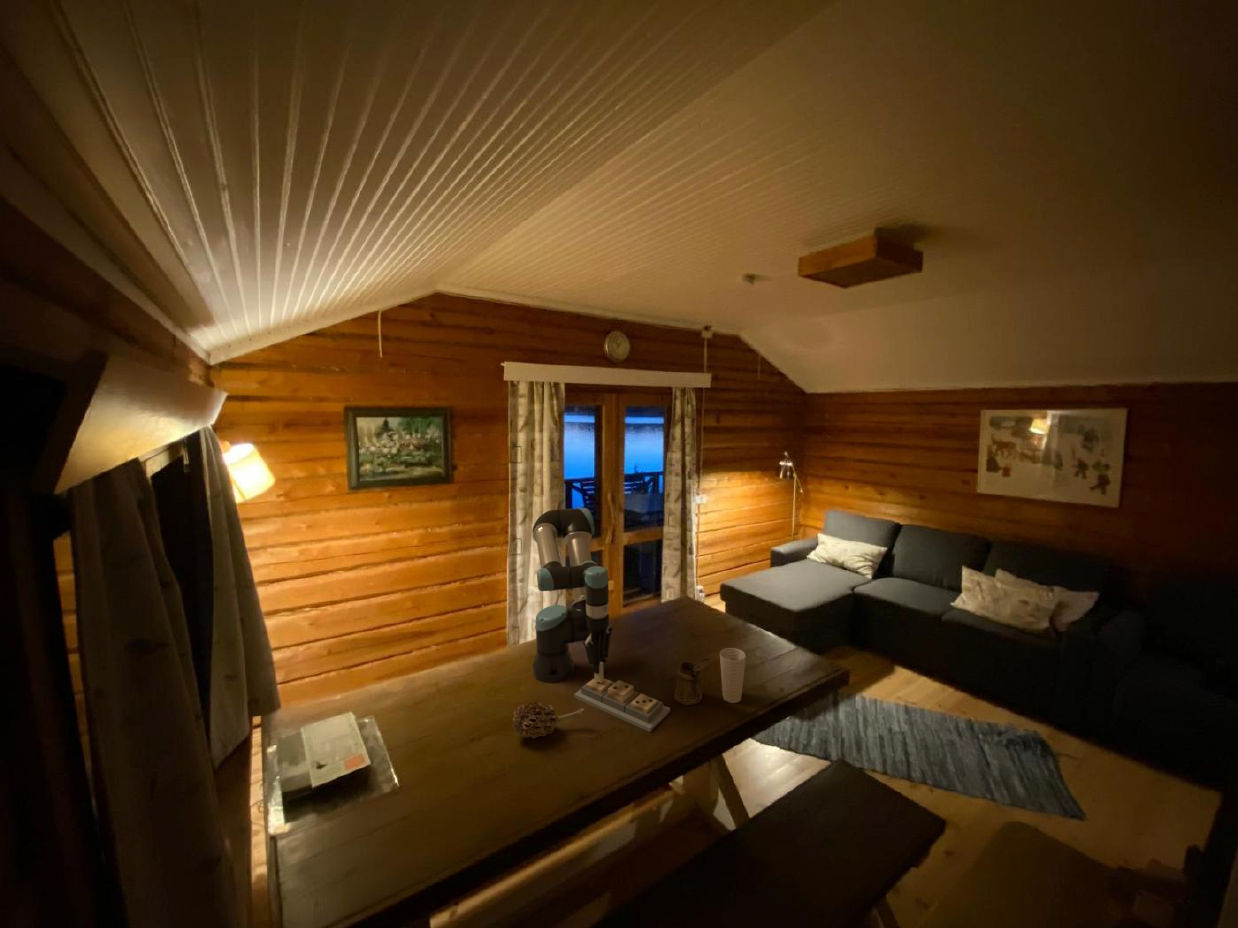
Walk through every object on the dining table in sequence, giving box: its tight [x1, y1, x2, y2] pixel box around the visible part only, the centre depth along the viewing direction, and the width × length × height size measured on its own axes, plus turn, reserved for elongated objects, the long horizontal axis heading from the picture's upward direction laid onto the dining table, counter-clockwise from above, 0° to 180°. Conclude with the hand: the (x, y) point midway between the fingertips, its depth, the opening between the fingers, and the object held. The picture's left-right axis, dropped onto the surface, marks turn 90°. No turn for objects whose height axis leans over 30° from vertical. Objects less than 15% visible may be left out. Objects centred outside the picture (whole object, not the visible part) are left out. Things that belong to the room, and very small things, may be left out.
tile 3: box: [631, 693, 658, 714], centre depth 161 cm, size 6×6×3 cm
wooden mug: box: [673, 658, 711, 706], centre depth 167 cm, size 9×14×18 cm, turn 30°
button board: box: [573, 677, 671, 733], centre depth 166 cm, size 30×12×3 cm, turn 54°
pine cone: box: [512, 701, 585, 739], centre depth 153 cm, size 22×10×10 cm, turn 109°
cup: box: [719, 647, 747, 704], centre depth 168 cm, size 8×8×16 cm
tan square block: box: [586, 678, 613, 694], centre depth 171 cm, size 6×6×3 cm
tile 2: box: [608, 680, 635, 703], centre depth 166 cm, size 6×6×3 cm
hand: (599, 680), depth 171 cm, fingers closed
